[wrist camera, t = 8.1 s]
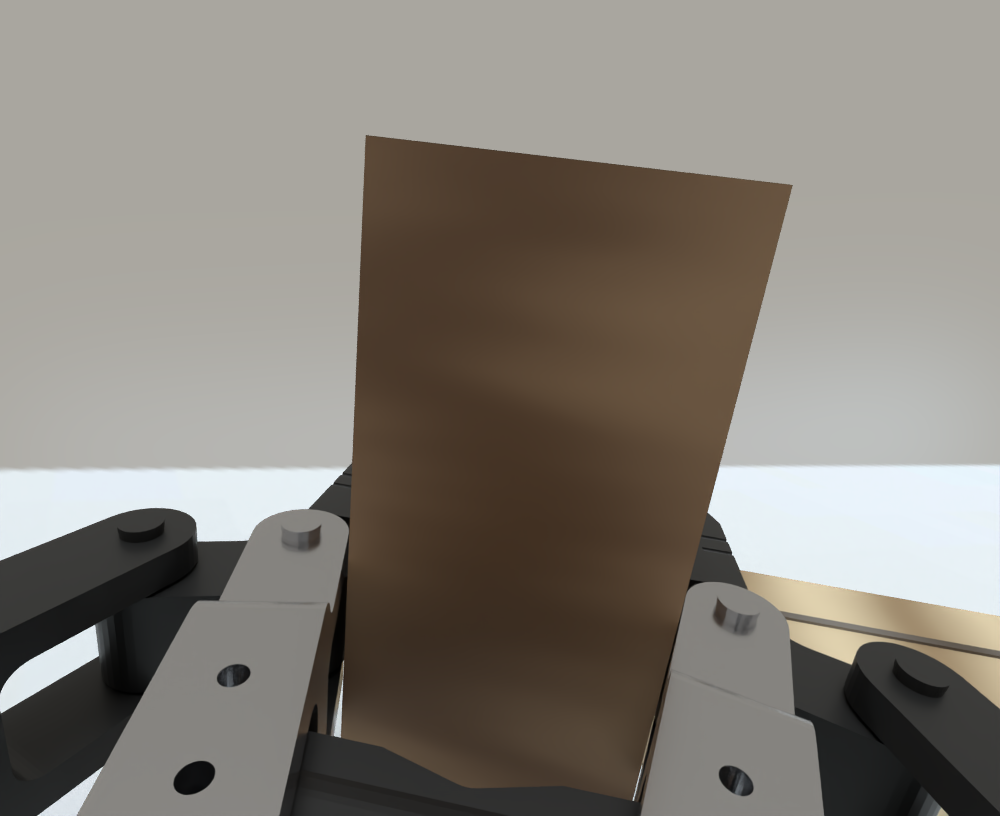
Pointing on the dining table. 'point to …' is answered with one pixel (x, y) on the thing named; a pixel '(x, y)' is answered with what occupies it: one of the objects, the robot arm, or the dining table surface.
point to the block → (536, 449)
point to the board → (886, 627)
